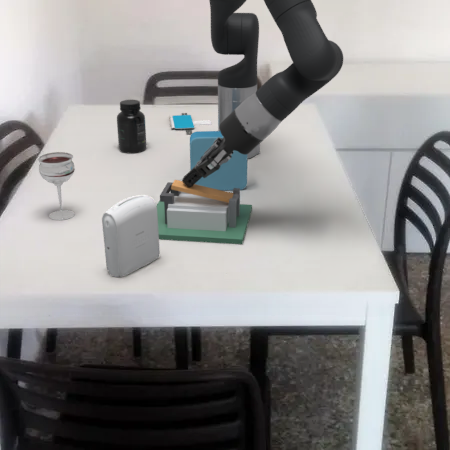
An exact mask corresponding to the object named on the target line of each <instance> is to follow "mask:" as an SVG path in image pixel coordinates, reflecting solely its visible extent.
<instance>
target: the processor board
mask: <svg viewBox="0 0 450 450" xmlns="http://www.w3.org/2000/svg"><path fill="white" fill-rule="evenodd" d="M172 184H173V182H167V183H166V185H165V186H164V187H163V189H162V191H161V193H160V194H159V201H158V202H157V203H156V206H157V216H158V232H159V240H164V241H179V242H195V243H210V244H211V243H215V244H229V245H230V244H231V245H232V244H233V245H243V243H244V241H245V237H246V233H247V230H248V226H249V221H250V218H251V215H252V212H253V204H248V203H247V204H244V203H241V190H240V188H233V190H232V191H229V192H230V193H237V194H238V195H239V197H238V200H237V203H236V199H234V198H230V199H229V203H228V202H223V201H219V200H215V199H211V198H206V197H202V196H198V195H194V194H189V193H185V192H181V191H176V190H172V189H171V186H172Z"/></svg>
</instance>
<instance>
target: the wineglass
mask: <svg viewBox="0 0 450 450" xmlns="http://www.w3.org/2000/svg"><path fill="white" fill-rule="evenodd" d="M73 158H74V155H73V154H71V153H69V152H65V151H54V152H49V153H45V154H41V155H40V156H38V158H37V161H38V162H39V164H38V173H39V175H40V177H41V178H42V179H43V180H45V181H46V182H47V183H49V184H52V185H54V186H56V191H57V197H58V204H59V210H56V211H53V212H51V213H49V215H48V217H49V219H51V220H54V221H64V220H68V219H71V218H73V217H74V216H75V215H76V214H75V212H74V211H72V210H69V209H63V199H62V185H63V184H64V183H66V182H68V181H69V180H70V179H71V178H72V177H73V175H74V174H75V170H76V168H75V164H74V161H73Z"/></svg>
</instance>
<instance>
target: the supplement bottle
mask: <svg viewBox="0 0 450 450" xmlns="http://www.w3.org/2000/svg"><path fill="white" fill-rule="evenodd" d="M119 110H120V112H118V114H117V115H116V126H117V140H118V141H117V142H118V150H119V151H120V152H121V153H124V154H138V153H142V152H144V151H146V149H147V129H146V127H147V126H146V117H145V116H146V115H145V114H144V113H143V112H142V111H140V110H141V102H140V100H138V99H125V100H121V101H120V102H119Z"/></svg>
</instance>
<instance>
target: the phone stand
mask: <svg viewBox="0 0 450 450" xmlns="http://www.w3.org/2000/svg"><path fill="white" fill-rule="evenodd" d="M168 120H169V123H170V124H169V128H170V129H171V131H172V130H173V129H175V130H178V131H184V132H185V133H186V135H191V134H192V133H193V130H192V129H194V128H195V126H207V125H208V126H209V125H210V126H211V125H213V123H212V121H211V120H210V119H209V120H208V119H205V120H203V119H202V120H193V118H192V115H191V114H188V112H182V113H181V114H178V115H172V116H170V115H169V116H168Z"/></svg>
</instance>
